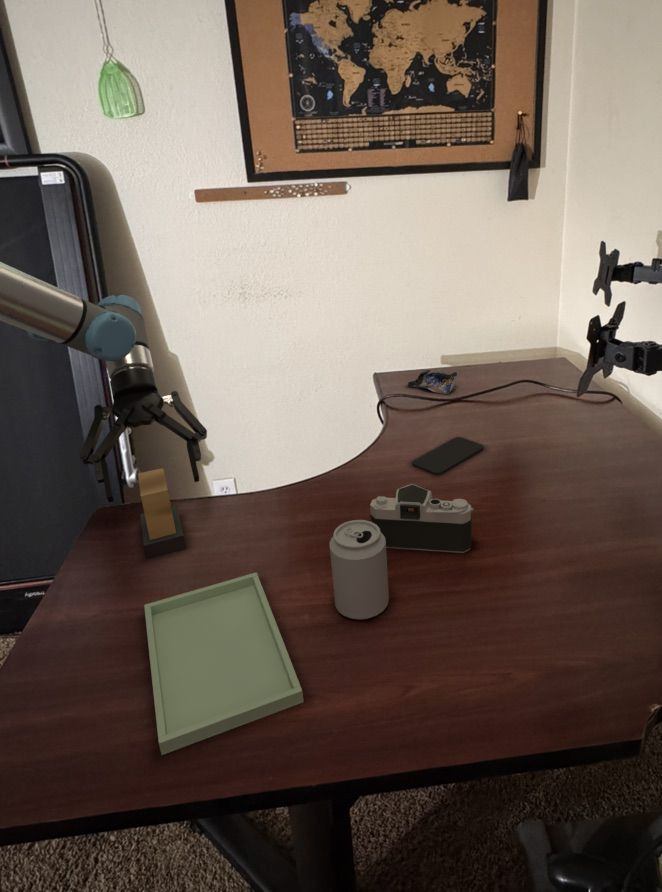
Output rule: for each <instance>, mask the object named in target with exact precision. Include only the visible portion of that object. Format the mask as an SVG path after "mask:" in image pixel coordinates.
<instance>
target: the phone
mask: <svg viewBox="0 0 662 892" xmlns="http://www.w3.org/2000/svg"><path fill="white" fill-rule="evenodd" d="M483 451H484V445H483V444H481V443H478V442H476V441H473V440H470V439H468V438H464V437H461V436H456V437H454V438H452V439H449V440H448V441H446V442H444V443H442V444H441V445H439V446H437V447H435V448H434V449H431V450H430V451H428V452H426V453H424V454H422V455H420V456H419V457H417V458H415V459H413V460H412V462H411V464H412V466H413V467H415V468H416V469H419V470H422V471H424V472H427V473H429V474H432V475H434V476H440V475H443V474H445V473H447V472H449V471H451V470H452V469H454V468H455V467H457V466H459V465H461V464H462V463H464V462H466V461H467V460H469V459H471V458H473V457H474V456H476V455H478V454H480V453H481V452H483Z"/></svg>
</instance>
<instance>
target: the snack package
mask: <svg viewBox="0 0 662 892" xmlns="http://www.w3.org/2000/svg"><path fill="white" fill-rule="evenodd" d="M457 375H458V373H457V372H455V371H454V372H453V373H451V374H447V373H444V370H442V371H441V372H439V371H438V372H431V370H430V369H427V370H424V371H422V372H420V373H419V375H418V377H417V378H416V379H415V380H413V381H408V383H407V387H409V388H417V389H427V390H429V391H431V392H434V393H437V394H438V392H437V391H436V390H434V389H433V388H430V386H432V387H435V388H438V389H440V390H441V391H442V393H443V394H445V395H450V393H451V391H452V390H453V388H454V386H455V382H456V379H457ZM442 393H439V394H440V395H441V394H442Z"/></svg>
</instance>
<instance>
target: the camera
mask: <svg viewBox="0 0 662 892" xmlns="http://www.w3.org/2000/svg"><path fill="white" fill-rule="evenodd" d="M432 492H433V491H431V489H429V488H425V487H423V486H420V485H419V484H415V483H409V484H407V485H405V486H401V487H399V488H397V489H396V492H395V497H386V496H385V495H383V496H382V495H378V496H377V497H375V498H374V499H372V500H371V502H370V504H369V505H370V506H369V507H370V514H369V517H370V522H372V523H374V524H376V525H377V526H378V527H379V528H380V532H381V533H382V534H383V535H384V537H385V541H386V549H398V550H411V551H412V550H414V551H429V552H443V553H444V552H445V553H458V554H459V553H460V554H464V553H466V552H468V551H470V550H471V549H472V512H474V510H475V509H474V507H472V505H471V504H470V503H469V502H468V501H467V500H466V499H464V498H456V499H454V498H453V500H441V499H439V498H433V493H432ZM409 509H413V511H411V510H409Z"/></svg>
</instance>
